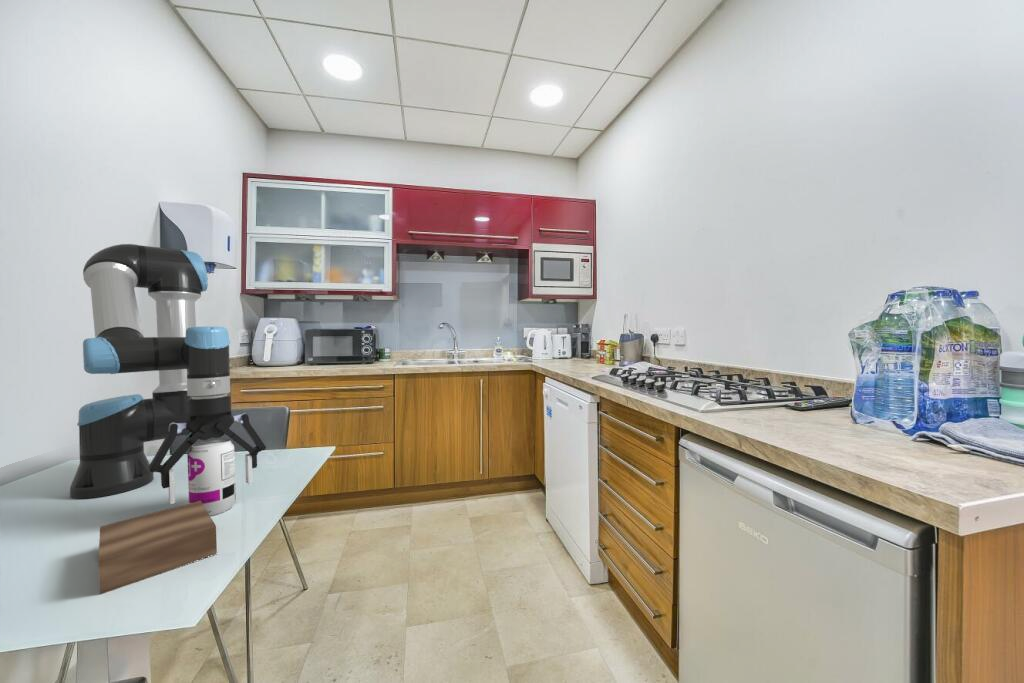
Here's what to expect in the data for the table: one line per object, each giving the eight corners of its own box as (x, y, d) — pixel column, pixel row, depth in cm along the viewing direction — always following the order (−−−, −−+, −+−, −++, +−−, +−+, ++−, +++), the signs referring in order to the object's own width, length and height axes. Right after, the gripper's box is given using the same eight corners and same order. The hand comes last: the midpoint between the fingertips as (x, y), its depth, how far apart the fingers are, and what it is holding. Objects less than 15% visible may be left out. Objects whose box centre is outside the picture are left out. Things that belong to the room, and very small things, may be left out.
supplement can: (198, 522, 80) (196, 450, 80) (183, 513, 84) (180, 444, 84) (242, 506, 87) (240, 440, 86) (226, 499, 91) (224, 436, 91)
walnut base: (101, 554, 68) (100, 526, 68) (201, 525, 78) (200, 500, 78) (99, 594, 57) (98, 561, 57) (216, 554, 67) (216, 525, 67)
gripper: (131, 406, 73) (135, 516, 74) (278, 390, 91) (281, 479, 92) (129, 402, 79) (133, 506, 79) (269, 388, 97) (272, 472, 97)
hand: (213, 492), depth 85 cm, fingers open, 13 cm apart
